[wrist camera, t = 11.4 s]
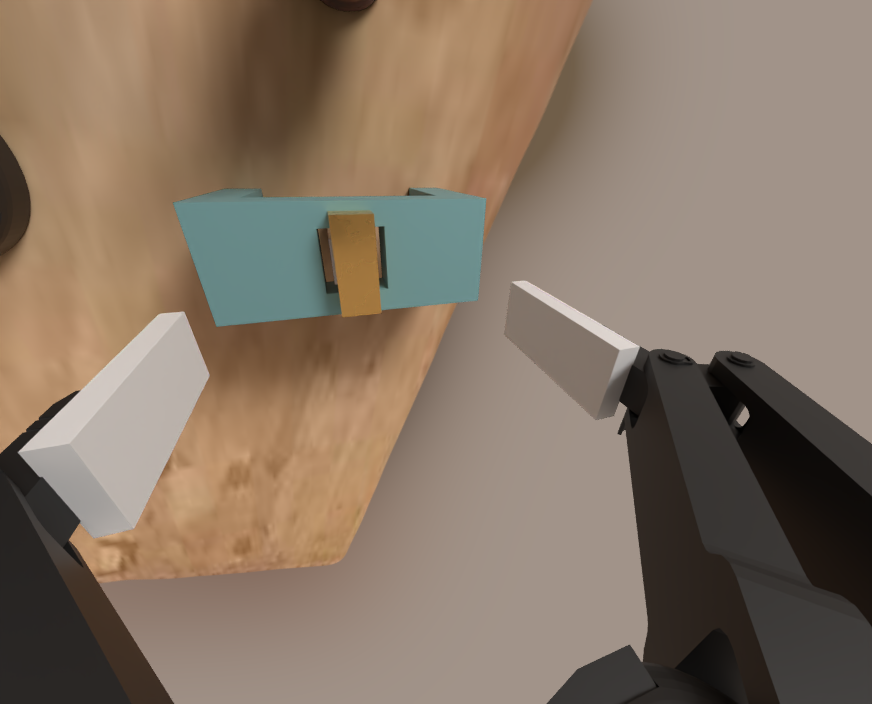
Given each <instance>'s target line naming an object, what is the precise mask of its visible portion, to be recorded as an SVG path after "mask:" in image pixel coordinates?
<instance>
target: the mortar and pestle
mask: <svg viewBox="0 0 872 704" xmlns="http://www.w3.org/2000/svg"><path fill="white" fill-rule="evenodd" d="M320 1H322V2H323V3H324V4H326V5H328V6H330V7H332V8H335V9H337V10H342V11H359V10H362V9H365V8H367V7H368V6H369V5H371V4H372V3H373V2H374V0H320Z"/></svg>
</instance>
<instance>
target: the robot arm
mask: <svg viewBox="0 0 872 704" xmlns="http://www.w3.org/2000/svg"><path fill="white" fill-rule="evenodd" d="M29 216H30V197H29V191H28V187H27V183H26V180H25V177H24V175H23V172H22V170H21V168H20V166H19V164H18V162H17V160H16V158H15V156H14V155H13V153H12V151H11V150H10V148H9V147H8V145H7V144H6V142H5V141H4V139H3V138H2V137H1V135H0V255H2V254H3V253H5V252H6V251H8V250H9V249H10V248H12V247H13V246H14V245H15V244H16V243H17V242H18V241H19V239H20V238H21V237H22V235H23V233H24V232H25V229H26V227H27V224H28V221H29ZM504 335H505V336H506V337H507V338H508V339H509V340H510V341H511V342H512V343H514V344H515V345H516V346H517V347H518V348H519V349H520V350H521V351H522V352H523V353H524V354H525V355H526V356H527V357H529V358H530V359H531V360H532V361H533V362H534V363H535V364H536V365H537V366H538V367H539V368H540V369H541V370H542V371H544V372H545V373H546V374H547V375H548V376H549V377H550V378H551V379H552V380H553V381H554V382H556V384H557V385H559V386H560V387H561V388H562V389H563V390H564V391H565V392H566V393H567V394H568V395H570V397H572V399H574V400H575V401H576V402H577V403H578V404H579V405H580V406H581V407H582V408H583V409H584V410H585V411H586V412H588V413H589V414H590V415H591V416H592V417H593V418H594V419H595V420H599V419H603V418H607V417H611V416H614V414H615V412H616V409H617V406H618V404H619V401H620V402H621V403H622V404H624V405H625V406H626V407H627V410H626V413H625V415H624V418H623V420H622V423H621V425H620V428H619V430H618V434H619V435H621V434H622V431H624V430H626V437H627V446H628V454H629V463H630V471H631V480H632V488H633V497H634V505H635V514H636V523H637V531H638V539H639V547H640V556H641V565H642V573H643V582H644V590H645V599H646V608H647V616H648V632H647V637H646V642H645V647H644V655H643V662H641V661H640V659H639V658H638V656H637V655H636V653H635V652H634V650H633V649H632V647H631V646H630V645H628V646H625V647H624V648H621V649H619V650H617V651H615V652H613V653H611V654H609V655H606V656H605V657H602V658H600V659H598V660H596V661H594V662H592V663H590V664H588V665H585V666H583V667H581V668H579V669H577V670H576V672H575V673H574V674H573V675H572V676H571V677H570V678H569V679H568V680H567V682H566V683H565V684H564V685H563V686H562V687H561V688H560V689H559V690H558V692H557V693H556V694H555V695H554V696H553V697H552V698H551V699H550V701H549V702H548V703H547V704H872V444H871V443H870V442H868V441H867V440H866V439H864V438H863V437H862V436H860V435H859V434H857V433H856V432H855V431H854V430H852V429H851V428H850V427H848V426H847V425H846V424H844V423H843V422H841V421H840V420H839V419H838V418H836V417H835V416H833V415H832V414H831V413H829V412H828V411H827V410H826V409H824V408H823V407H821V406H820V405H819V404H817V403H816V402H815V401H813V400H812V399H811V398H809V397H808V396H807V395H806V394H804V393H803V392H802V391H800V390H799V389H798V388H796V387H795V386H793V385H792V384H791V383H790V382H788V381H787V380H785V379H784V378H783V377H782V376H780V375H779V374H777V373H776V372H775V371H773V370H772V369H771V368H769V367H768V366H767V365H765V364H764V363H762V362H761V361H759V360H757V359H755V358H753V357H751V356H750V355H748V354H745V353H741V352H730V351H719V352H716V353H715V355H714V357H713V359H712V361H711V363H710V365H708V364H697V363H696V362H695V361H694V360H693V359H691V358H690V357H688V356H686V355H684V354H681V353H679V352H675V351H671V350H664V349H656V350H652V351H650V352H649V351H647V350H646V349H644V348H642V347H640V346H639V345H637V344H635V343H633V342H632V341H630V340H628V339H626V338H625V337H622V336H621V335H619V334H618V333H616V332H614V331H612V330H611V329H609V328H607V327H606V326H604V325H602V324H600V323H598V322H596V321H595V320H593V319H591V318H589V317H588V316H586V315H584V314H583V313H581V312H579V311H577V310H576V309H574V308H572V307H570V306H569V305H567V304H565V303H564V302H562V301H560V300H558V299H557V298H555V297H553V296H551V295H550V294H548V293H546V292H544V291H543V290H541V289H539V288H538V287H536V286H534V285H532V284H530V283H529V282H527V281H515V282H511V286H510V295H509V302H508V309H507V317H506V324H505V331H504ZM209 376H210V375H209V372H208V370H207V367H206V365H205V362H204V360H203V357H202V355H201V352H200V350H199V347H198V345H197V342H196V340H195V337H194V335H193V332H192V330H191V327H190V325H189V322H188V320H187V317H186V315H185V312H174V313H163V314H158V315H157V316H156V317H155V318H154V319H153V320H152V321H151V322H150V323H149V324H148V325H147V326H146V327H145V328H144V329H143V330H142V331H141V332H140V333H139V334H138V335H137V336H136V337H135V338H134V339H133V340H132V341H131V342H130V343H129V344H128V345H127V346H126V347H125V348H124V349H123V350H122V351H121V352H120V353H119V354H118V355H117V356H116V357H115V358H114V359H113V360H111V361H110V362H109V363H108V364H107V365H106V366H105V367H104V368H103V369H102V370H101V371H100V372H99V373H98V374H97V375H96V376H95V377H94V378H93V379H92V380H91V381H90V382H89V383H88V384H87V385H86V386H85V387H84V388H83V389H82V390H80V391H75V392H73V393H72V394H70V395H68V396H67V397H65V398H63V399H61V400H60V401H58V402H56V403H55V404H53V405H52V406H51V407H50V408H49V409H48V410H47V411H46V412H45V413H44V414H42V415H41V416H40V417H39V420H38V421H35V422H34V423H33V424H32V425H31V426H30V427H28V428H27V429H26V432H25V433H22V434H21V435H20V436H19V437H18V438H17V439H16V440H14V441H13V442H12V443H11V444H10V445H9V446H8V447H7V448H6V449H5V450H4V451H3V452H2V453H1V454H0V704H174V703H173V701H172V700H171V698H170V696H169V695H168V693H167V692H166V690H165V688H164V687H163V685H162V684H161V682H160V680H159V679H158V677H157V676H156V674H155V672H154V671H153V669H152V668H151V666H150V664H149V663H148V661H147V660H146V658H145V657H144V655H143V653H142V652H141V650H140V649H139V647H138V646H137V644H136V642H135V641H134V639H133V637H132V636H131V634H130V633H129V631H128V629H127V628H126V626H125V625H124V623H123V622H122V620H121V618H120V617H119V615H118V614H117V612H116V610H115V609H114V607H113V606H112V604H111V603H110V601H109V599H108V598H107V596H106V595H105V593H104V592H103V590H102V588H101V587H100V585H99V583H98V582H97V580H96V579H95V577H94V575H93V574H92V572H91V571H90V569H89V567H88V566H87V564H86V563H85V561H84V559H83V558H82V556H81V555H80V553H79V551H78V550H77V548H76V547H75V546H74V545H73V544H72V543H71V542H70V541H69V538H70V537H71V535H72V534H73V532H74V531H75V529H76V528H77V526H78V525H79V523H80V524H81V525H82V526H83V527H84V528H85V529H86V531H87V532H88V533H89V534H90V535H91V536H92V537H93V538H98V537H102V536H106V535H110V534H115V533H119V532H123V531H127V530H132V529H134V528H135V526H136V524H137V522H138V520H139V518H140V516H141V514H142V511H143V509H144V507H145V505H146V503H147V501H148V499H149V497H150V495H151V493H152V491H153V489H154V487H155V485H156V483H157V481H158V479H159V477H160V475H161V473H162V471H163V469H164V467H165V465H166V463H167V461H168V459H169V457H170V455H171V453H172V451H173V449H174V447H175V445H176V443H177V441H178V439H179V437H180V435H181V433H182V431H183V429H184V426H185V424H186V422H187V420H188V418H189V416H190V414H191V412H192V410H193V408H194V406H195V404H196V402H197V400H198V398H199V396H200V394H201V392H202V390H203V388H204V386H205V384H206V382H207V380H208V378H209ZM745 406H746V408H747V409H748V411H749V415H750V417H749V419H748V420H747V422H746V423H745V424H744V426H741V425H740V424H739V423H738V422H737V421H736V420H737V418H738V417H739V415H740V414H741V412H742V410H743V409H744V407H745Z"/></svg>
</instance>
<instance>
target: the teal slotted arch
mask: <svg viewBox="0 0 872 704" xmlns="http://www.w3.org/2000/svg"><path fill="white" fill-rule="evenodd" d="M173 205H174V207H175V210H176V213H177V216H178V219H179V222H180V224H181V227H182V230H183V233H184V236H185V239H186V242H187V244H188V247H189V250H190V253H191V256H192V259H193V261H194V264H195V267H196V270H197V273H198V276H199V278H200V281H201V284H202V287H203V290H204V293H205V295H206V298H207V301H208V304H209V307H210V310H211V312H212V315H213V318H214V321H215V324H216V327H219V326H229V325H239V324H248V323H258V322H268V321H278V320H288V319H298V318H308V317H318V316H328V315H338V314H342V311H341V304H340V297H339V290H338V284H336V285H335V282H334V281H332V282H326V279H325V272H324V266H323V259H322V253H321V247H320V240H319V234H318V229H321V228H330V226H329V219H328V211H357V210H370V211H371V212H372V213H374V220H375V227H379V238H380V252H381V267H382V278H379V287H380V300H381V310H388V309H397V308H407V307H417V306H427V305H437V304H447V303H457V302H466V301H476V300H478V294H479V282H480V270H481V256H482V245H483V233H484V220H485V208H486V198H481V197H477V196H472V195H467V194H463V193H458V192H453V191H449V190H444V189H440V188H409V196H352V197H263V195H262V190H261V189H222V190H218V191H215V192H211V193H207V194H203V195H200V196H196V197H192V198H189V199H185V200H181V201H177V202H174V203H173Z"/></svg>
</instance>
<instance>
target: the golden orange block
mask: <svg viewBox="0 0 872 704" xmlns="http://www.w3.org/2000/svg"><path fill="white" fill-rule="evenodd" d="M328 219H329V226H330V228H327V231H328V240H329V247H330V254H331V261H332V268H333V275H334V282H335V285H336V284H338V290H339V297H340V304H341V311H342V317H351V316H361V315H371V314H380V313H381V300H380V287H379V273H378V260H377V247H376V233H375V220H374V213H372V212H371V211H370V210H357V211H328Z"/></svg>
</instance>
